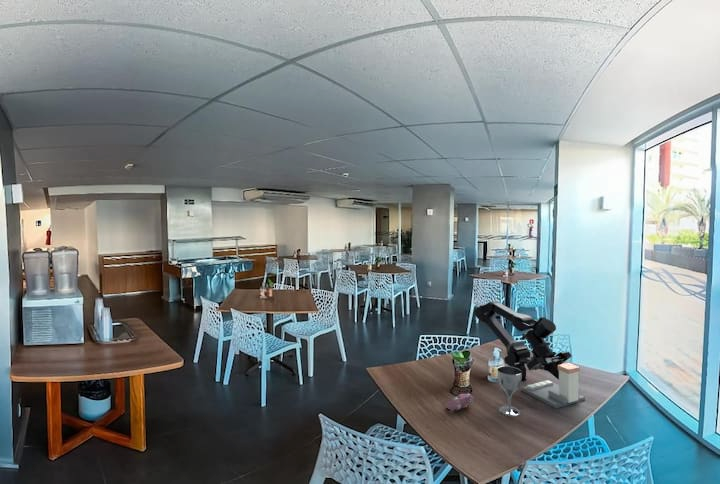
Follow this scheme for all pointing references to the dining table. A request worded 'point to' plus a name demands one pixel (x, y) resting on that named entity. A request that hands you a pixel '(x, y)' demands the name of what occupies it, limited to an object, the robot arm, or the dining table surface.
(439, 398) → the dining table surface
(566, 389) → the key
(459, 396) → the pink toy figurine
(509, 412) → the wine glass
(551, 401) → the keyboard deck
